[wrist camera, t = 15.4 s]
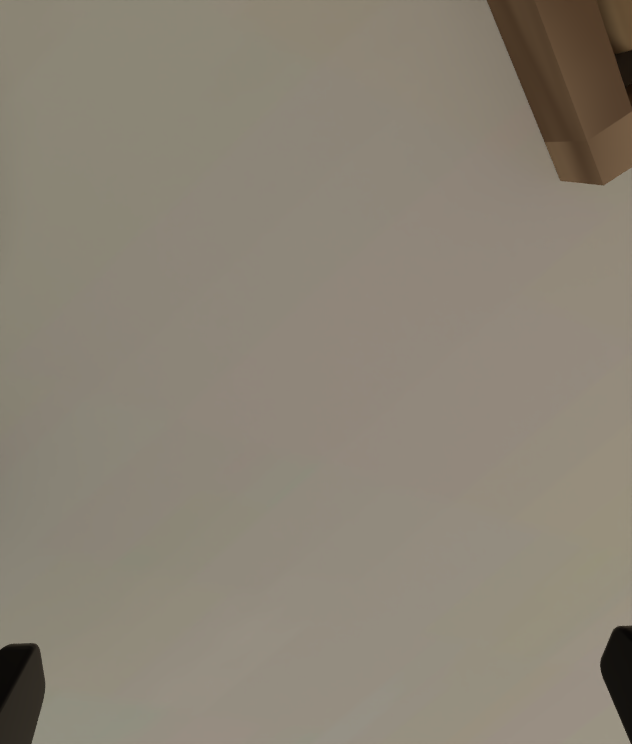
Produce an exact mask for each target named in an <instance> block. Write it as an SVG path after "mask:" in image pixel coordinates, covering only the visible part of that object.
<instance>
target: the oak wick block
mask: <svg viewBox="0 0 632 744" xmlns="http://www.w3.org/2000/svg"><path fill="white" fill-rule="evenodd" d="M596 1H597V4H598V7H599V10H600V13H601V16H602V19H603V22H604V25H605V28H606V31H607V34H608V37H609V40H610V43H611V46H612V49H613V52H614V54H618V53H622V52H625V51H629V50H632V0H596Z"/></svg>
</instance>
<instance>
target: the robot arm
mask: <svg viewBox="0 0 632 744" xmlns="http://www.w3.org/2000/svg"><path fill="white" fill-rule="evenodd" d="M600 667H601V673H602V676H603V679H604V681H605V684H606V686H607V689H608V691H609V693H610V696H611V698H612V700H613V703H614V705H615V707H616V710H617V712H618V714H619V717H620V719H621V721H622V724H623V726H624V728H625V731H626V733H627V736H628V738H629V740H630V743H631V744H632V626H618V627H616V628H615V629H614V630H613V632H612V634H611V636H610V638H609V641H608V643H607V646H606V648H605V650H604V653H603V655H602V657H601V662H600ZM44 694H45V678H44V671H43V665H42V659H41V653H40V649H39V647H38V645H37V644H34V643H24V644H9V645H7V646H5V647H3V648H2V649H1V650H0V744H31V743H32V740H33V736H34V732H35V729H36V725H37V721H38V718H39V714H40V710H41V707H42V703H43V699H44Z"/></svg>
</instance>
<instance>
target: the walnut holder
mask: <svg viewBox="0 0 632 744" xmlns="http://www.w3.org/2000/svg"><path fill="white" fill-rule="evenodd" d="M487 2H488V4H489V7H490V9H491V12H492V14H493V16H494V19H495V21H496V24H497V26H498V29H499V31H500V34H501V36H502V39H503V41H504V43H505V46H506V48H507V51H508V53H509V56H510V58H511V61H512V63H513V65H514V68H515V70H516V73H517V75H518V78H519V80H520V83H521V85H522V88H523V90H524V92H525V95H526V97H527V100H528V102H529V105H530V107H531V110H532V112H533V114H534V117H535V119H536V122H537V124H538V127H539V129H540V132H541V134H542V137H543V139H544V141H545V144H546V146H547V149H548V151H549V154H550V156H551V159H552V161H553V163H554V166H555V168H556V171H557V173H558V176H559V178H560V181H568V182H577V183H587V184H596V185H605V184H606V183H608V182H609V181H611V180H613V179H614V178H616V177H617V176H619V175H620V174H622V173H623V172H625V171H627V170H628V169H630V168H631V167H632V84H631V85H629V86H628V87H626V88H625V86H624V83H623V80H622V77H621V74H620V71H619V68H618V65H617V62H616V59H615V55H614V52H613V49H612V46H611V43H610V40H609V37H608V34H607V31H606V28H605V25H604V22H603V19H602V16H601V13H600V10H599V7H598V4H597V1H596V0H487Z"/></svg>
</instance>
